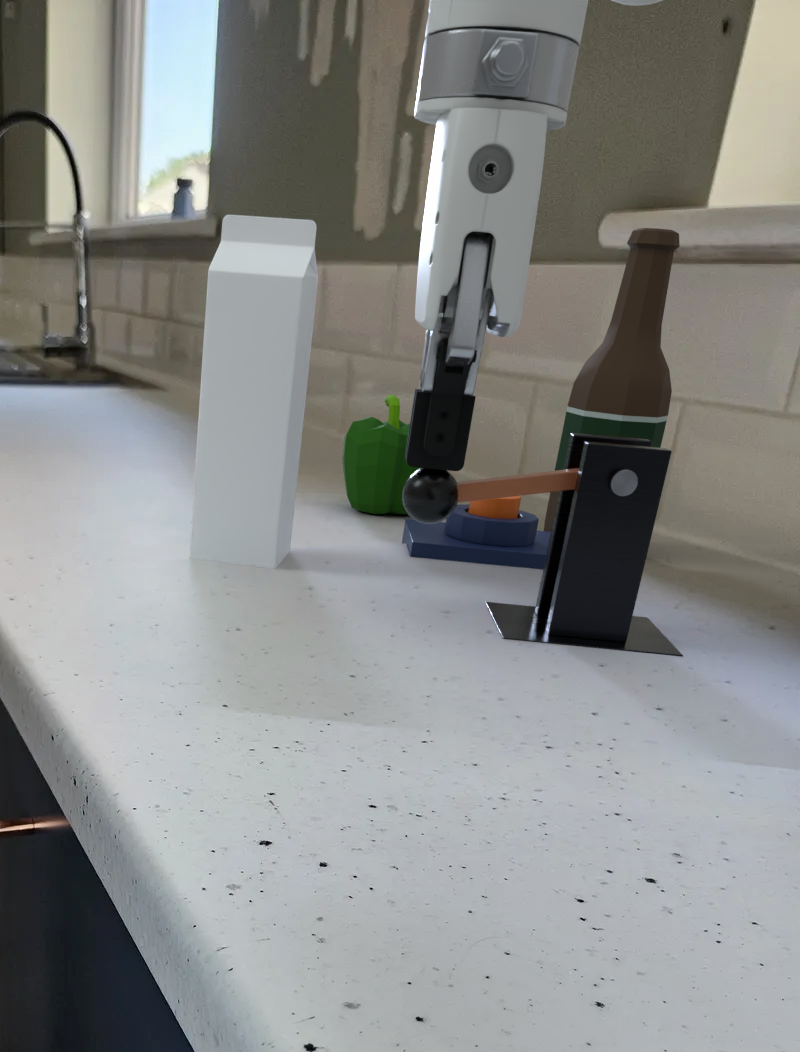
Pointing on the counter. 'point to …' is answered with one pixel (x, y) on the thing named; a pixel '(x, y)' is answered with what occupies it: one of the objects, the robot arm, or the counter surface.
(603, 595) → the bracket
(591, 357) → the beer bottle
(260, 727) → the counter surface
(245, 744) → the counter surface
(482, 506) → the button
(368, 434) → the bell pepper
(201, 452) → the milk
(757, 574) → the counter surface
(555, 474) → the lever
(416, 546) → the control block
